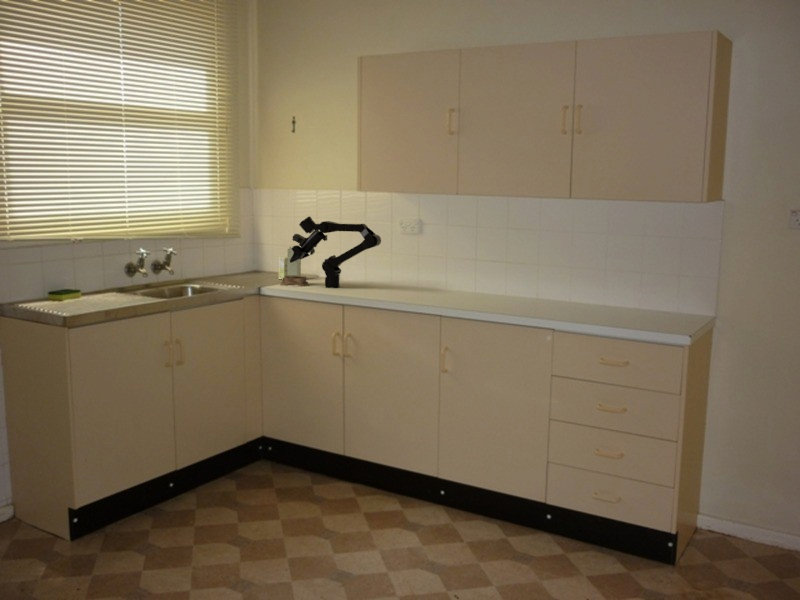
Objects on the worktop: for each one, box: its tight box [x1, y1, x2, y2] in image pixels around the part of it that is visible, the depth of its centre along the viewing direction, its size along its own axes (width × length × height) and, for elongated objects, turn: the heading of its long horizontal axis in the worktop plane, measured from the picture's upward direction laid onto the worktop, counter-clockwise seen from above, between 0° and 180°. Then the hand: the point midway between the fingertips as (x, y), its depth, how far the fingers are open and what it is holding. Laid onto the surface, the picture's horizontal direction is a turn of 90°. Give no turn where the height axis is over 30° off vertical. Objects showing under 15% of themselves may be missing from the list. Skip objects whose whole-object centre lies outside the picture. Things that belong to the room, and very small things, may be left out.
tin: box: [286, 246, 300, 275], centre depth 403 cm, size 5×5×14 cm
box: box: [278, 256, 302, 281], centre depth 422 cm, size 10×6×12 cm, turn 130°
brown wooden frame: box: [280, 276, 309, 287], centre depth 405 cm, size 12×10×4 cm
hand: (292, 261), depth 403 cm, fingers closed on tin, 5 cm apart
